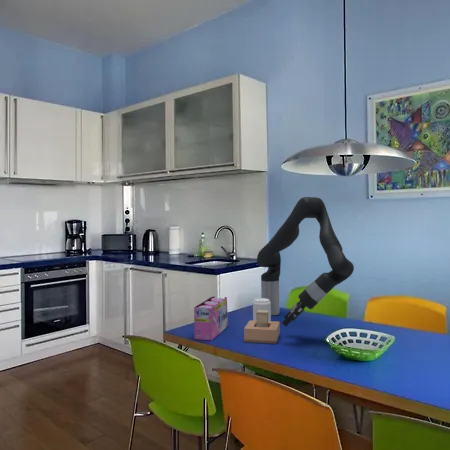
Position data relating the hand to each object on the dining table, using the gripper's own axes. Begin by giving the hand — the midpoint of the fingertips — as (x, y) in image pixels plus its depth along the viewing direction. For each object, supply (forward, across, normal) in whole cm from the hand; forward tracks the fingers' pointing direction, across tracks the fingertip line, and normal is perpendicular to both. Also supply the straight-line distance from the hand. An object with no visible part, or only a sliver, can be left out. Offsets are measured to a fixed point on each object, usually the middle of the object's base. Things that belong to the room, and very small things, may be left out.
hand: (284, 321), depth 175 cm
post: (+11, 0, -2) cm, 11 cm away
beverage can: (+14, -19, -4) cm, 24 cm away
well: (+12, 0, -1) cm, 12 cm away
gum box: (+28, -5, -18) cm, 33 cm away
